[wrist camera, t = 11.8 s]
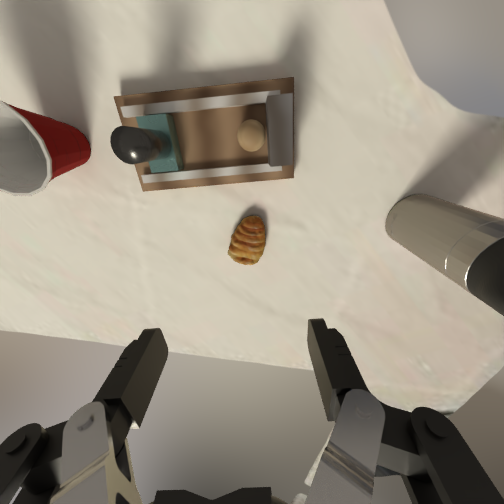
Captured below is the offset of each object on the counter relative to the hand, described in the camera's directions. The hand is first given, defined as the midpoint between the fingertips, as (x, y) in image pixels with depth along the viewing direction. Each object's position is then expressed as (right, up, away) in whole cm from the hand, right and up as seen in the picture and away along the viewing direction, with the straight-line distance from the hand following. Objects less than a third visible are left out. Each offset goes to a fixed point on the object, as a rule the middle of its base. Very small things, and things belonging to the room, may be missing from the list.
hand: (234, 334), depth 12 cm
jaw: (-12, +21, +21) cm, 32 cm away
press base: (-5, +22, +22) cm, 32 cm away
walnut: (+1, +21, +19) cm, 28 cm away
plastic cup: (-28, +21, +23) cm, 42 cm away
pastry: (0, +7, +31) cm, 31 cm away
